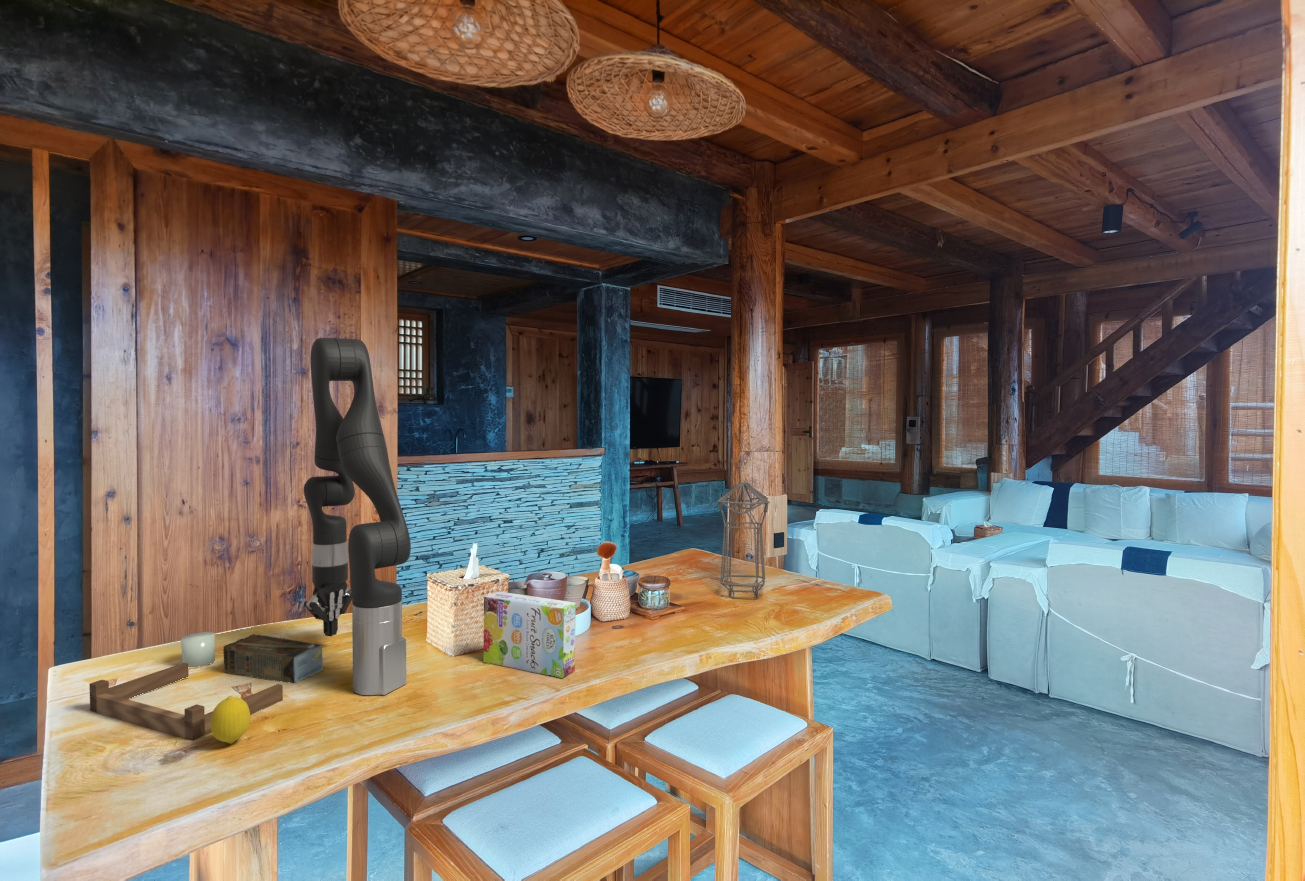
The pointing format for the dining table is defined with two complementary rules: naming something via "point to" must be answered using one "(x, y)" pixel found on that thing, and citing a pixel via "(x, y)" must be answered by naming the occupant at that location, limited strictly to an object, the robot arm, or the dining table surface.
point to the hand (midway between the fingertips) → (330, 634)
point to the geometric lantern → (763, 501)
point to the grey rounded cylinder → (198, 649)
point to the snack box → (530, 633)
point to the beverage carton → (273, 658)
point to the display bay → (160, 719)
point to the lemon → (230, 719)
